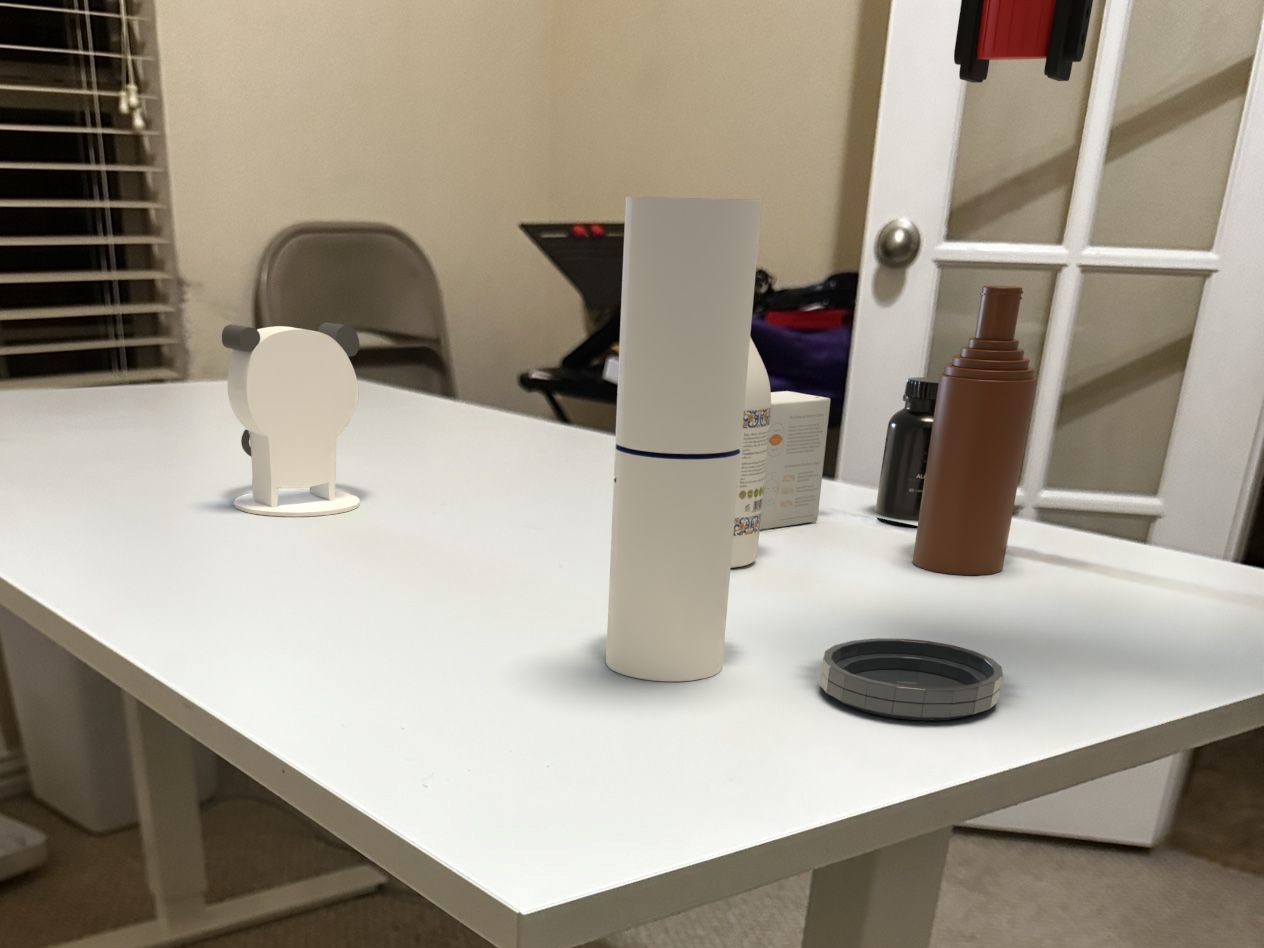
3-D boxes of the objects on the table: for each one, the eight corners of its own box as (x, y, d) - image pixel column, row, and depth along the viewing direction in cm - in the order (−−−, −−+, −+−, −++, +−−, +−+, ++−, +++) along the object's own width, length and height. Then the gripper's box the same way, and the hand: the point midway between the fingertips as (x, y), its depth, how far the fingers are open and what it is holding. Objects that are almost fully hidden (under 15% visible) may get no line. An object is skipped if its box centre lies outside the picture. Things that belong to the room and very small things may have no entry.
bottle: (1020, 567, 109) (1072, 288, 99) (968, 579, 105) (1017, 290, 95) (946, 551, 114) (989, 283, 104) (894, 562, 110) (933, 284, 100)
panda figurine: (327, 488, 133) (318, 318, 126) (389, 507, 125) (383, 327, 118) (213, 500, 127) (196, 321, 119) (271, 521, 119) (257, 331, 112)
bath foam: (757, 552, 112) (782, 279, 102) (756, 572, 106) (782, 284, 96) (672, 548, 113) (689, 277, 103) (666, 567, 107) (683, 281, 97)
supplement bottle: (923, 533, 120) (945, 386, 114) (859, 521, 124) (877, 378, 118) (966, 524, 124) (990, 381, 118) (902, 512, 128) (922, 373, 122)
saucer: (1031, 701, 79) (1037, 668, 78) (925, 737, 73) (931, 701, 72) (890, 660, 86) (895, 629, 85) (784, 690, 80) (787, 656, 79)
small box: (776, 512, 127) (788, 390, 122) (818, 522, 123) (833, 397, 118) (710, 520, 123) (719, 394, 118) (752, 531, 119) (764, 402, 114)
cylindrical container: (636, 686, 80) (663, 197, 68) (587, 652, 86) (603, 196, 74) (743, 674, 82) (787, 200, 70) (688, 643, 88) (721, 199, 76)
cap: (979, 60, 78) (989, -20, 76) (1055, 58, 77) (1068, -23, 75) (973, 57, 75) (984, -26, 73) (1053, 56, 73) (1066, -29, 71)
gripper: (894, -357, 68) (847, 77, 77) (1258, -418, 61) (1159, 71, 70) (940, -313, 74) (891, 87, 83) (1277, -363, 67) (1184, 82, 76)
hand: (1014, 75), depth 76 cm, fingers closed on cap, 4 cm apart
